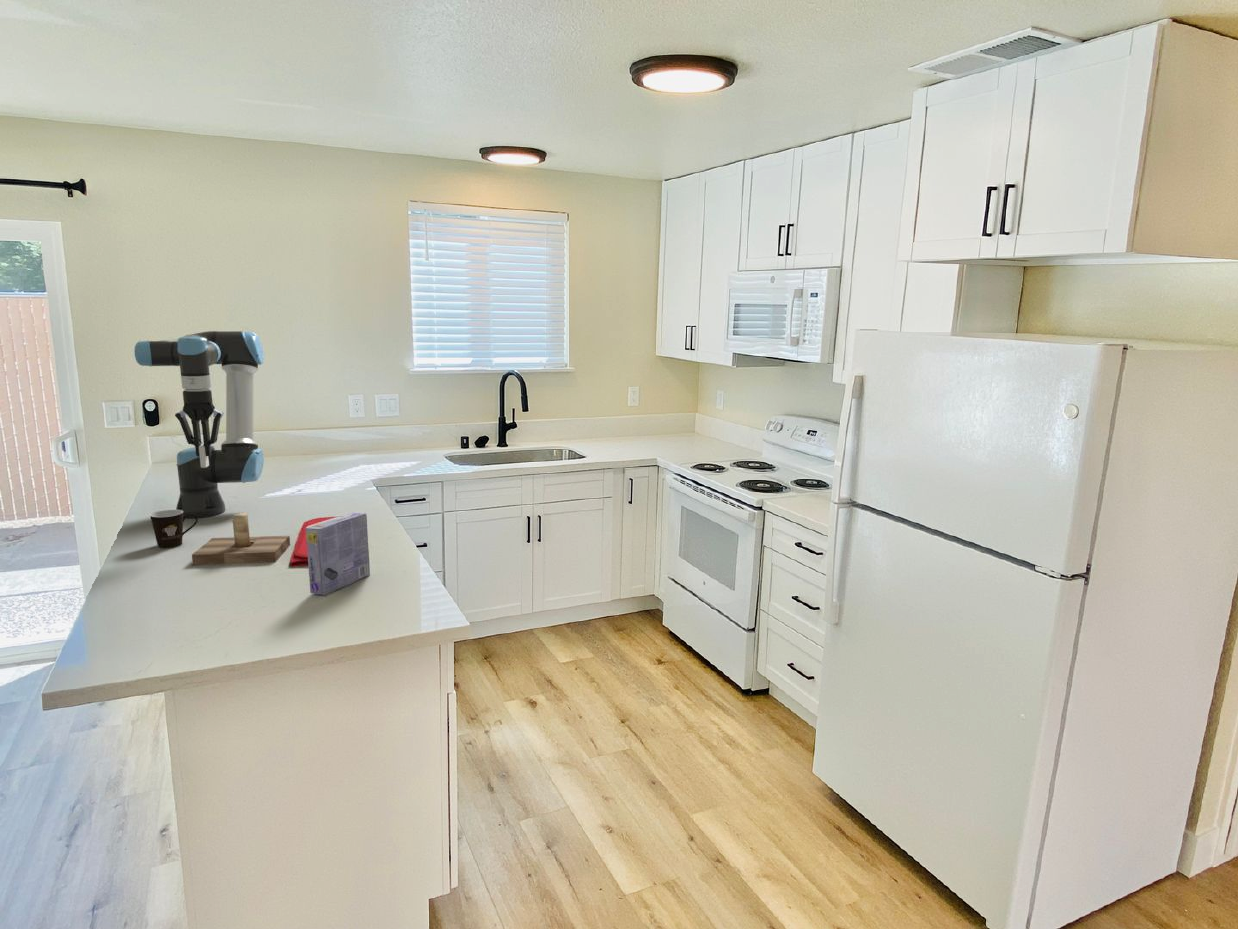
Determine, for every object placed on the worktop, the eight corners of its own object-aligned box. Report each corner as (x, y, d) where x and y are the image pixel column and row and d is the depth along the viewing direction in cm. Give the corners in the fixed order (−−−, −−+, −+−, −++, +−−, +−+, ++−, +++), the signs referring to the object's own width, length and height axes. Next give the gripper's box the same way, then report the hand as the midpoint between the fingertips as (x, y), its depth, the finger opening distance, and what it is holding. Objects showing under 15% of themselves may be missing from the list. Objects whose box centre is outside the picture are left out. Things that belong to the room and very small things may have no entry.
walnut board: (213, 547, 226) (212, 538, 225) (290, 545, 230) (289, 535, 229) (192, 565, 211) (191, 554, 210) (275, 562, 214) (274, 552, 214)
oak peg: (238, 552, 222) (234, 513, 219) (253, 552, 222) (249, 513, 220) (233, 557, 218) (229, 517, 215) (248, 556, 218) (245, 517, 216)
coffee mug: (149, 550, 222) (145, 518, 220) (158, 541, 230) (155, 510, 228) (193, 547, 225) (189, 515, 223) (200, 539, 234) (197, 508, 232)
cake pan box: (359, 571, 208) (356, 509, 205) (374, 573, 206) (371, 511, 203) (308, 594, 191) (303, 527, 187) (323, 597, 189) (319, 530, 185)
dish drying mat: (288, 569, 210) (287, 556, 209) (302, 528, 248) (301, 518, 248) (347, 564, 215) (347, 552, 214) (352, 525, 253) (351, 514, 252)
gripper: (168, 391, 218) (177, 469, 223) (216, 391, 220) (224, 468, 226) (177, 387, 225) (186, 464, 230) (224, 387, 227) (231, 463, 233)
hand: (205, 466), depth 228 cm, fingers closed
